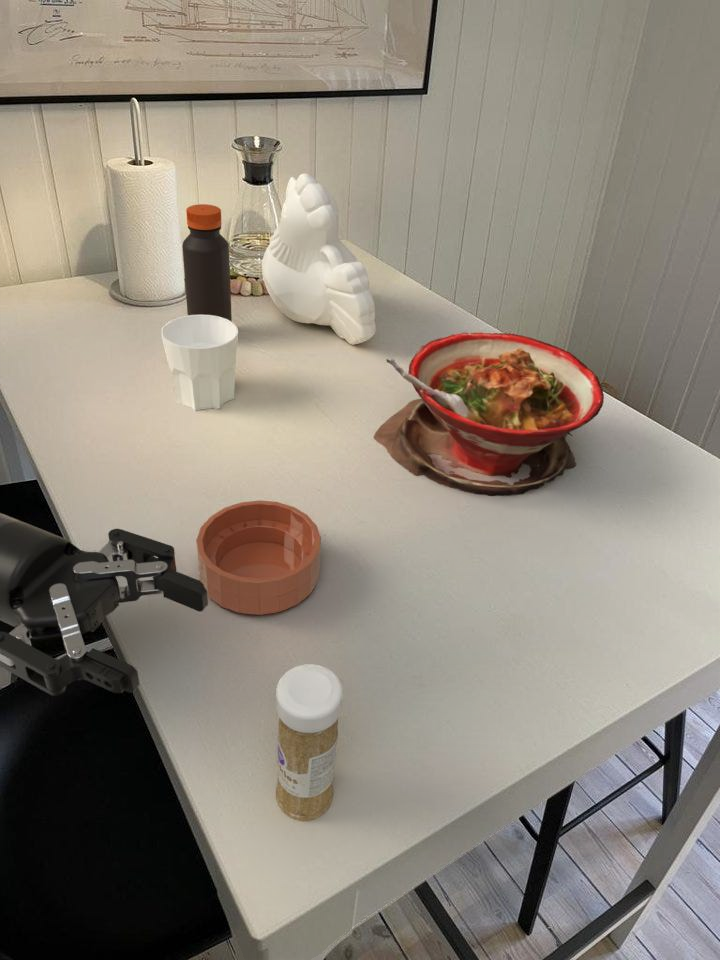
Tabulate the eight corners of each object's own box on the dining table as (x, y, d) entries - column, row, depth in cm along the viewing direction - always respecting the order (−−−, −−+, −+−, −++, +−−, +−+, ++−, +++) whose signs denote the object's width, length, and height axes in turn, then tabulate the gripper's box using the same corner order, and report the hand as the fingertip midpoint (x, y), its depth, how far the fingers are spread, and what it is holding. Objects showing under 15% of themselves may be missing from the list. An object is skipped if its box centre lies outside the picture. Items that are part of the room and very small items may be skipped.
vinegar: (182, 331, 121) (172, 205, 109) (221, 323, 124) (215, 199, 112) (199, 349, 116) (190, 219, 104) (239, 340, 120) (235, 213, 108)
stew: (389, 519, 87) (403, 399, 77) (358, 408, 106) (366, 301, 96) (615, 508, 91) (655, 394, 82) (547, 404, 110) (573, 301, 100)
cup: (170, 417, 101) (163, 350, 95) (165, 380, 108) (158, 316, 102) (245, 411, 103) (243, 345, 97) (234, 375, 111) (232, 312, 105)
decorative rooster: (251, 256, 131) (246, 164, 107) (337, 235, 133) (351, 141, 109) (295, 386, 126) (300, 320, 102) (383, 361, 129) (409, 292, 105)
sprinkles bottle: (264, 788, 59) (263, 680, 51) (312, 759, 62) (318, 651, 54) (296, 835, 56) (300, 728, 48) (345, 802, 59) (356, 695, 51)
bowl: (259, 638, 71) (259, 601, 68) (175, 576, 77) (171, 540, 74) (342, 572, 79) (345, 537, 76) (259, 521, 85) (259, 486, 82)
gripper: (-91, 589, 52) (101, 677, 47) (55, 479, 62) (223, 542, 58) (-61, 659, 56) (116, 745, 52) (70, 546, 67) (227, 609, 62)
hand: (172, 638), depth 55 cm, fingers open, 8 cm apart
